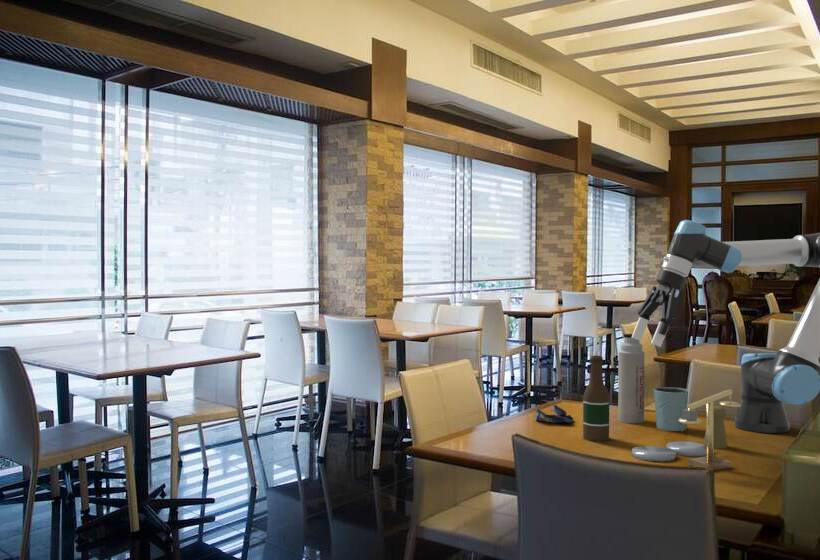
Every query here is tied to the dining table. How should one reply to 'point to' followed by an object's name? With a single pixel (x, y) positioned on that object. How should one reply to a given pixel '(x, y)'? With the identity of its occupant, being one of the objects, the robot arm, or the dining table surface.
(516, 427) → the dining table surface
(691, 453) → the dish high end
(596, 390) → the beer bottle
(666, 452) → the dish low end
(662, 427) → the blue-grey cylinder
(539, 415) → the snack package
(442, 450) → the dining table surface
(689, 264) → the robot arm
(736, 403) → the balance
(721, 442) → the pepper shaker
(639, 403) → the thermos bottle
